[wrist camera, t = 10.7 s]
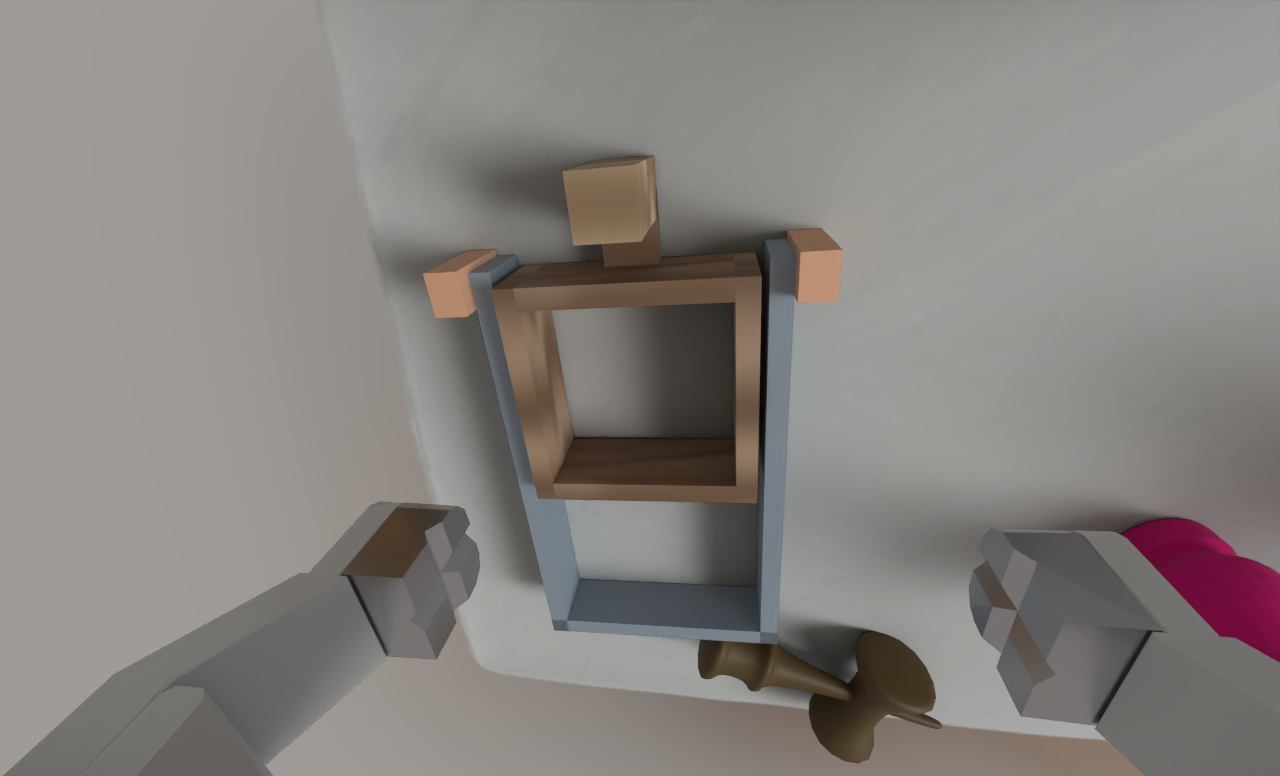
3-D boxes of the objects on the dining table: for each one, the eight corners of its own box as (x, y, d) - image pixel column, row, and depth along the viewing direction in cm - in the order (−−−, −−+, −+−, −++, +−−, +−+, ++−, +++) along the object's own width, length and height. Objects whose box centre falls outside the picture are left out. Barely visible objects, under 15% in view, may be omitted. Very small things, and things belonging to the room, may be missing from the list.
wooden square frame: (505, 168, 28) (444, 181, 22) (756, 145, 26) (768, 152, 19) (559, 453, 36) (527, 520, 30) (752, 454, 34) (759, 527, 28)
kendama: (728, 572, 41) (964, 657, 40) (687, 640, 45) (898, 717, 45) (726, 639, 35) (997, 737, 35) (680, 708, 40) (918, 795, 40)
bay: (467, 251, 31) (422, 273, 26) (821, 228, 27) (842, 249, 23) (547, 587, 43) (527, 642, 39) (795, 599, 40) (805, 661, 35)
